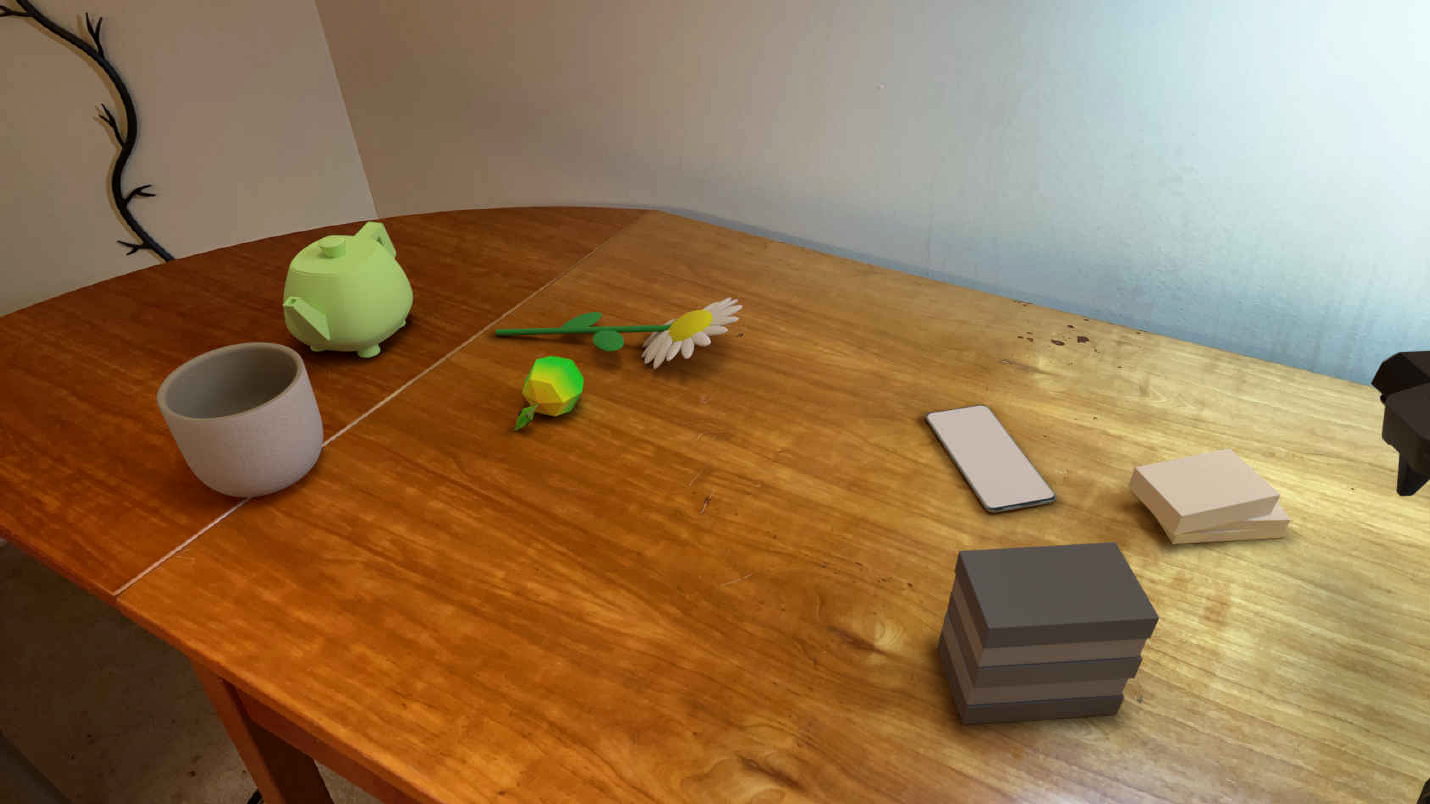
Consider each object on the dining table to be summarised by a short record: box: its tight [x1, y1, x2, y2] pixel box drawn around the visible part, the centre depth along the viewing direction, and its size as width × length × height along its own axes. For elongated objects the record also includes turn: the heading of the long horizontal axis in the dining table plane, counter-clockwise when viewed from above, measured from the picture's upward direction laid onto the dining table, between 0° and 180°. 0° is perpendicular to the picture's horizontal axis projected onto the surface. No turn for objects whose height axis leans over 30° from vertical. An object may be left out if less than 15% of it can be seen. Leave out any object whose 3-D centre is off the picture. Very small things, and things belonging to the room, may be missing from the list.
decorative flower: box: [495, 297, 743, 370], centre depth 105 cm, size 13×5×30 cm
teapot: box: [282, 221, 414, 359], centre depth 105 cm, size 20×13×13 cm
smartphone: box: [925, 404, 1057, 513], centre depth 90 cm, size 7×1×15 cm
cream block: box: [1127, 447, 1281, 535], centre depth 81 cm, size 6×10×2 cm, turn 105°
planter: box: [156, 341, 324, 498], centre depth 86 cm, size 12×12×11 cm
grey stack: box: [937, 541, 1160, 726], centre depth 66 cm, size 7×12×11 cm, turn 94°
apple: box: [514, 355, 585, 431], centre depth 95 cm, size 7×6×9 cm
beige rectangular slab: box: [1153, 468, 1292, 545], centre depth 83 cm, size 7×10×2 cm
